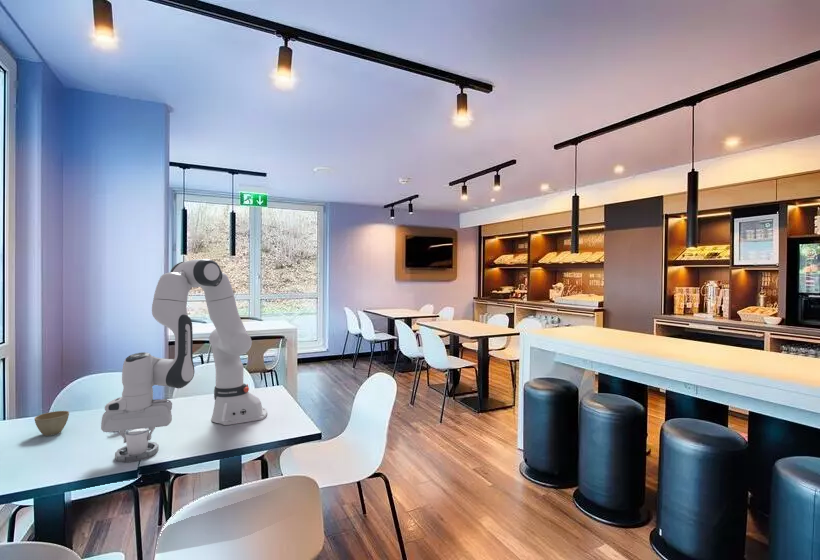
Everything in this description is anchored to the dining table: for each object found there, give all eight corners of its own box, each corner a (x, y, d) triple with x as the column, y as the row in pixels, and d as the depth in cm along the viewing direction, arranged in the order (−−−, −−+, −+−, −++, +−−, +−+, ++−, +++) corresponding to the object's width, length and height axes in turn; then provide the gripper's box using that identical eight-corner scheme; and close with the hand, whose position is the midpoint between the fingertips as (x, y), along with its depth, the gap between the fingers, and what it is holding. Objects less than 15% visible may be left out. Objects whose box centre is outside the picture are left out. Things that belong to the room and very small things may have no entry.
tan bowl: (68, 426, 160) (68, 408, 160) (70, 433, 153) (70, 415, 153) (34, 433, 154) (34, 414, 153) (34, 440, 146) (34, 421, 146)
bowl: (162, 444, 144) (162, 440, 144) (152, 459, 133) (152, 454, 133) (123, 449, 140) (123, 444, 140) (109, 464, 129) (109, 458, 129)
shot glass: (132, 447, 140) (132, 427, 140) (153, 446, 141) (153, 426, 140) (120, 456, 133) (120, 435, 133) (142, 455, 134) (142, 434, 134)
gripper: (174, 395, 143) (174, 433, 143) (106, 400, 136) (106, 440, 137) (169, 401, 137) (169, 440, 137) (98, 406, 130) (98, 448, 131)
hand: (137, 440), depth 137 cm, fingers closed on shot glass, 5 cm apart
